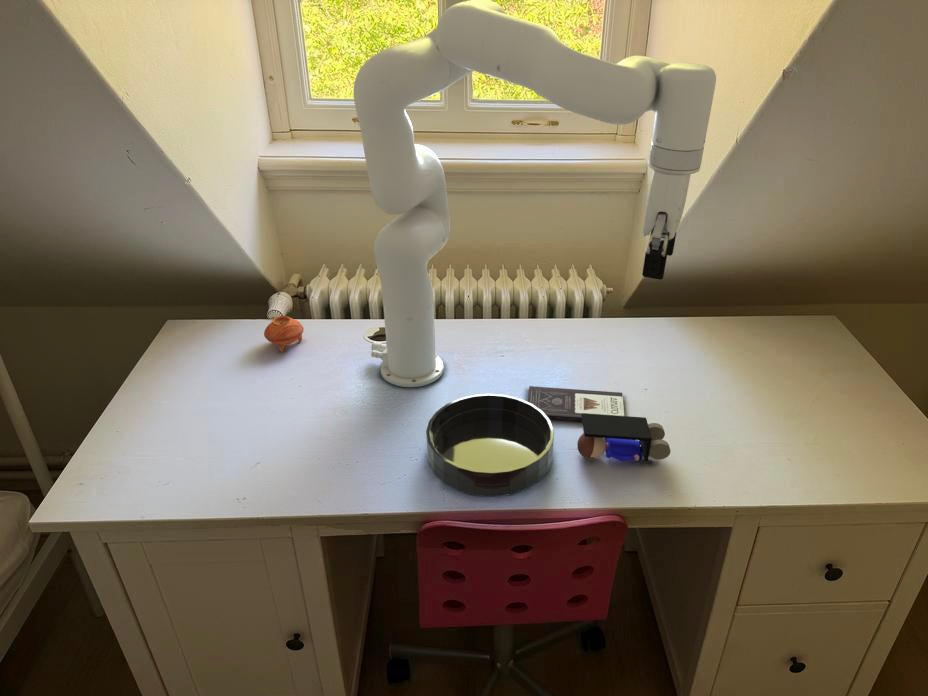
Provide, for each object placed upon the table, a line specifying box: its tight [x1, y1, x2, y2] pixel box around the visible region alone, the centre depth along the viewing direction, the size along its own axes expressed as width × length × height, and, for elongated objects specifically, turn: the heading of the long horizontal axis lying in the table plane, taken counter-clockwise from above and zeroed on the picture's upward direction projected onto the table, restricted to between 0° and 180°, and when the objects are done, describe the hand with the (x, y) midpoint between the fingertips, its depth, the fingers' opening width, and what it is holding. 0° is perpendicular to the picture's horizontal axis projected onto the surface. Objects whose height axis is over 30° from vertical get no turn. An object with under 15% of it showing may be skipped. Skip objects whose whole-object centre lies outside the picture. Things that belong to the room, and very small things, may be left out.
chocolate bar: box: [527, 385, 625, 423], centre depth 130 cm, size 9×1×18 cm
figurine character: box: [576, 413, 671, 464], centre depth 117 cm, size 7×8×15 cm
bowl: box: [425, 393, 555, 497], centre depth 117 cm, size 21×21×6 cm
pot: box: [263, 315, 305, 353], centre depth 144 cm, size 8×8×7 cm
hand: (657, 265), depth 110 cm, fingers open, 9 cm apart
